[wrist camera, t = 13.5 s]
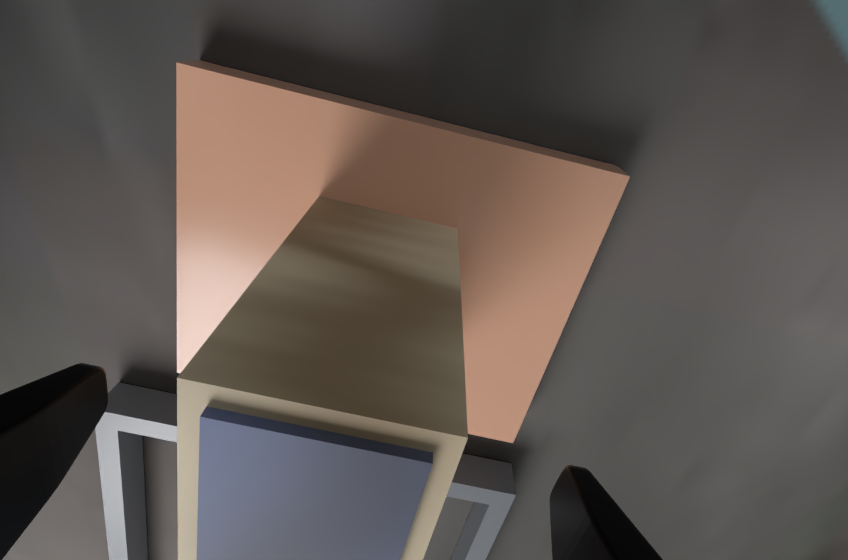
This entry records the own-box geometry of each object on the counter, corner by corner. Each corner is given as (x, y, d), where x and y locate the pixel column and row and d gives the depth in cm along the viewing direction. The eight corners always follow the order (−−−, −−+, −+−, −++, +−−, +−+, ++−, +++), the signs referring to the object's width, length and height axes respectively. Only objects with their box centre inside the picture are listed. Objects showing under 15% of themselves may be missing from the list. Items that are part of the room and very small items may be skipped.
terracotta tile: (193, 352, 18) (177, 372, 17) (198, 60, 13) (176, 62, 12) (509, 419, 19) (513, 443, 17) (616, 165, 14) (630, 176, 13)
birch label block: (299, 340, 16) (172, 604, 9) (319, 196, 14) (169, 387, 6) (418, 366, 16) (394, 644, 9) (458, 228, 14) (468, 448, 7)
